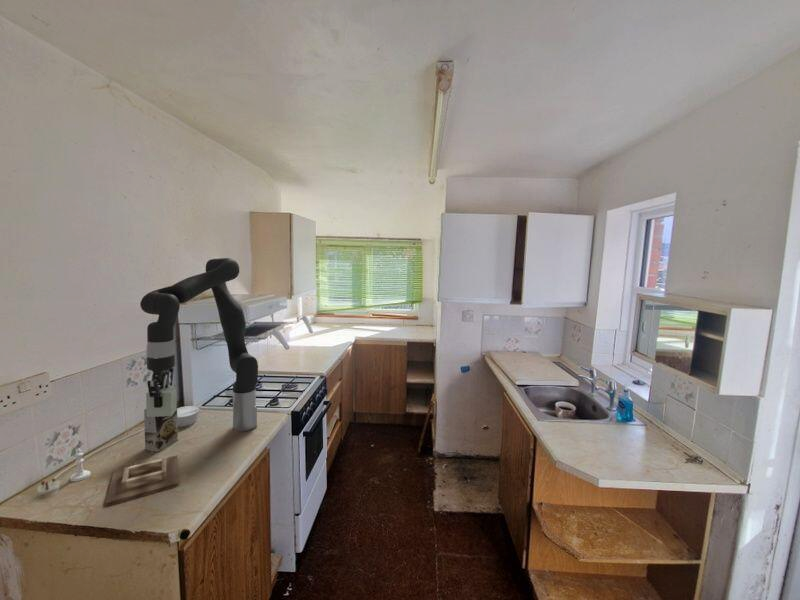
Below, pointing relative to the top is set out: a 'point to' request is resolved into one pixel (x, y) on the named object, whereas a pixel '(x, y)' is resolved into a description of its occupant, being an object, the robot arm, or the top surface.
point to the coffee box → (160, 431)
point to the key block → (168, 403)
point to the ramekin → (187, 415)
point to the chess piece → (79, 468)
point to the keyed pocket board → (143, 479)
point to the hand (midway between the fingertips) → (161, 403)
